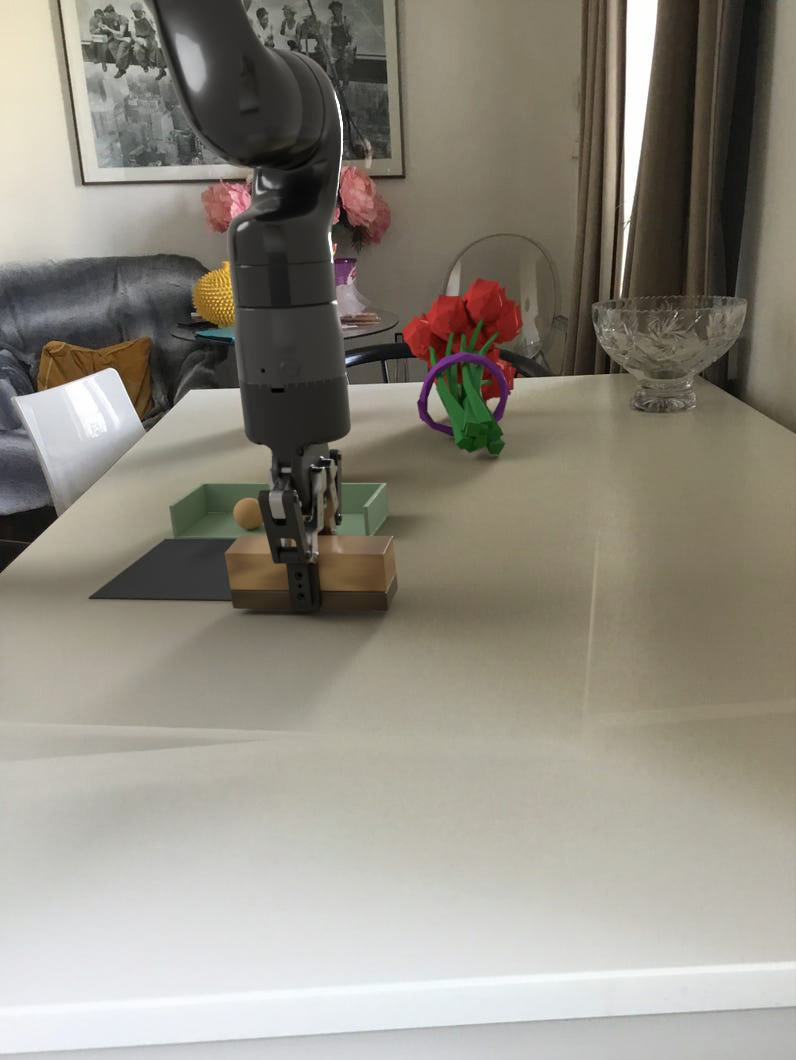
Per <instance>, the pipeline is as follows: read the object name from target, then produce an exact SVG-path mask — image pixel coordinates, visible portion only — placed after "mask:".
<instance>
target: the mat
mask: <svg viewBox="0 0 796 1060" xmlns="http://www.w3.org/2000/svg"><path fill="white" fill-rule="evenodd" d="M235 541H236V539H195V538H164V539H163V540H161V541H160V542H159V543H158V544H156V545H155V546H154V547H152V548H151V549H150V550H149V551H147V552H146V553H144V554H143V555H142V556H140V557H139V558H138V559H136V560H135V561H134V562H133V563H131V564H130V565H129V566H128V567H126V568H125V569H124V570H122V571H121V572H120V573H118V574H117V575H116V576H114V577H113V578H112V579H110V581H108V582H106V583H105V584H104V585H103V586H101V587H100V588H99V589H98V590H96V591H95V592H93V593H92V594H91V595H89V596H88V600H124V601H125V600H127V601H128V600H129V601H130V600H131V601H187V602H189V601H194V602H232V599H231V593H230V591H231V588H230V582H229V576H228V570H227V564H226V558H225V552H226V551H227V550H228V549H229V548H230V547H231V545H232V544H233V543H234V542H235Z"/></svg>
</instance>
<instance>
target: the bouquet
mask: <svg viewBox="0 0 796 1060" xmlns="http://www.w3.org/2000/svg"><path fill="white" fill-rule="evenodd" d="M500 284H501V283H500V281H495V280H486V279H483V278H481V277H477V279H476V281H475V283H474V280H472V281H471V283H470V286H469V288H468V290H467V292H466V293H465V294H464V295H463V297H462V295H446V294H438V298H437V300H436V299H435V298H433V302H432V305H431V308H430V309H429V312H428V313H424V312H423V311H421V314H420V316H419V317H418V316H417V315H416V314H415V315H414V317H413V318H412V320H411V321H410V322H409V323H408V324H407V325H406V326H405V327H404V328H403V329H402V330H401V333H402V336H403V337H402V339H403V340H404V343H406V344H407V345H408V347H409V349H410V351H411V353H412V355H413V356H415V357H417V358H418V360H419V361H424V362H425V363H426V364H427V367H428V369H429V371H428V373H427V374H426V376H425V377H424V381H423V383H422V385H421V390H420V393H419V397H418V398H419V399H417V401H416V404H417V410H418V416H419V419H420V420H421V422H424V423H425V424H427V426H428V427H430V428H431V429H432V430H435V431H438V432H441V433H443V434H446V435H448V436H452V437H453V438H454V443H455V446H456V447H458V448H459V449H460V450H461V451H462V450H465V451H467V452H468V453H469V454H471V453H472V452H476V451H479V450H480V449H482V448H484V447H486V449H487V451H488V452H489V454H491V455H496V456H497V455H498V456H500V454H501V452H502V450H503V449H504V447H505V445H506V442H505V441H504V440H503V439H502V438H501V437H503V436H504V435H505V434H504V432H503V430H502V428H501V427H500V425H499V423H498V422H499V421H501V420H502V419H503V416H504V413H505V409H506V405H507V402H508V399H509V396H511V394H512V391H513V390H514V388H515V387H514V386H515V385H514V383H515V382H514V381H515V375H516V371H517V368H516V367H513V366H512V365H513V363H511V362H509V361H506V360H503V359H500V351H501V348H495V347H496V344H497V345H502V344H503V343H509V342H512V341H513V340H514V339H515V338H516V337H517V336H519V335H520V334H521V332H522V330H520V329H521V328H523V326H524V322H523V319H522V309H521V304H519V305H516V300H515V299H514V300H513V299H507V295H506V285H504V286H502V287H500ZM433 385H435V390H436V392H437V395H438V397H439V399H440V401H441V403H442V405H443V407H444V409H445V412H446V414H447V416H448V419H449V420H450V424H451V426H450V425H446V424H443V423H439V422H437V421H434V419H433V418H432V416H431V415H430V413H429V411H428V409H429V407H428V406H429V404H428V403H429V396H430V394H431V391H432V388H433ZM492 399H499V402H498V404H497V405H496V408H495V409H494V411H493V413H492V411H491V410H490V408H489V407H488V401H490V400H492Z"/></svg>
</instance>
